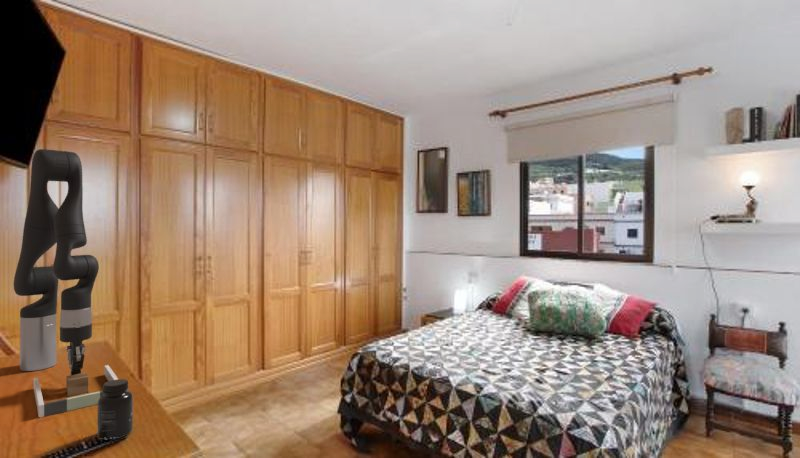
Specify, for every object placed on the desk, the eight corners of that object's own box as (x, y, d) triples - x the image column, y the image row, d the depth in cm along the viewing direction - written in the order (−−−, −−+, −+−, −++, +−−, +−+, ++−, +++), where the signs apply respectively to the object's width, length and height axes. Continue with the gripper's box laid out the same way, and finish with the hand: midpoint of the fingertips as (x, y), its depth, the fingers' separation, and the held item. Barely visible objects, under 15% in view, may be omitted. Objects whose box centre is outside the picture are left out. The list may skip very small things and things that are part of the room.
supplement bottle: (139, 431, 99) (139, 380, 99) (109, 444, 93) (109, 390, 93) (121, 424, 102) (121, 375, 102) (90, 437, 96) (90, 385, 96)
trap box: (33, 388, 122) (33, 378, 122) (108, 374, 135) (108, 364, 134) (38, 417, 105) (38, 405, 105) (123, 397, 117) (124, 387, 117)
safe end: (66, 409, 109) (66, 398, 109) (99, 402, 114) (99, 391, 114) (66, 411, 108) (66, 399, 108) (99, 403, 113) (100, 392, 113)
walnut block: (66, 391, 121) (66, 376, 120) (85, 387, 124) (85, 372, 124) (68, 396, 117) (68, 380, 117) (88, 392, 120) (88, 376, 120)
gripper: (57, 321, 126) (57, 378, 126) (62, 329, 116) (61, 392, 116) (88, 317, 131) (88, 372, 131) (95, 325, 121) (95, 385, 122)
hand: (75, 381), depth 124 cm, fingers closed
